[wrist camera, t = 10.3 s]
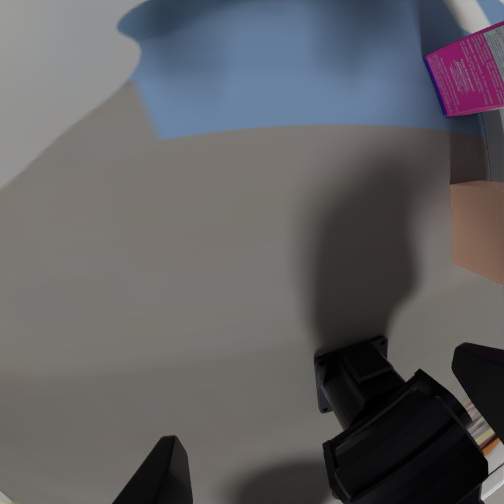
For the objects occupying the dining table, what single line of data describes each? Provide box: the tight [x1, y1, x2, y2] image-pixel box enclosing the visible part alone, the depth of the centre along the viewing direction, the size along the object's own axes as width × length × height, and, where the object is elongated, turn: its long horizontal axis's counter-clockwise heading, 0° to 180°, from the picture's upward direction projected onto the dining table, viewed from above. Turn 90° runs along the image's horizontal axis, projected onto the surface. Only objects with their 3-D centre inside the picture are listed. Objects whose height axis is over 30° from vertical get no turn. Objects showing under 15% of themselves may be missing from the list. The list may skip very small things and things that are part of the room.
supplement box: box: [423, 21, 504, 117], centre depth 13 cm, size 6×6×12 cm
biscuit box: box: [450, 180, 504, 285], centre depth 17 cm, size 5×7×8 cm
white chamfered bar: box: [481, 465, 504, 501], centre depth 45 cm, size 7×7×24 cm
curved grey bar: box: [481, 108, 504, 183], centre depth 19 cm, size 20×1×2 cm, turn 11°
